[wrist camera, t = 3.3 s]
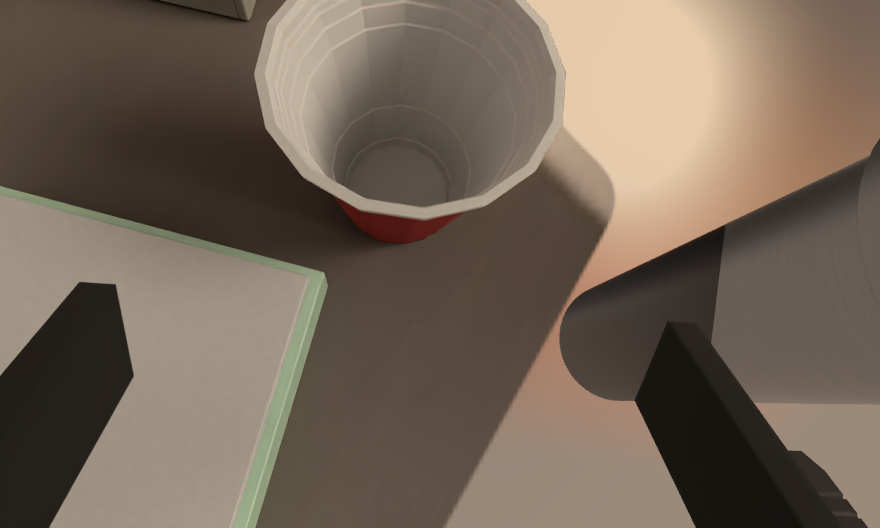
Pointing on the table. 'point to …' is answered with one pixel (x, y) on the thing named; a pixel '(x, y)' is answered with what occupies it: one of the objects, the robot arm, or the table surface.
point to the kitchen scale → (167, 360)
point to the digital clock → (221, 7)
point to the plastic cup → (411, 104)
